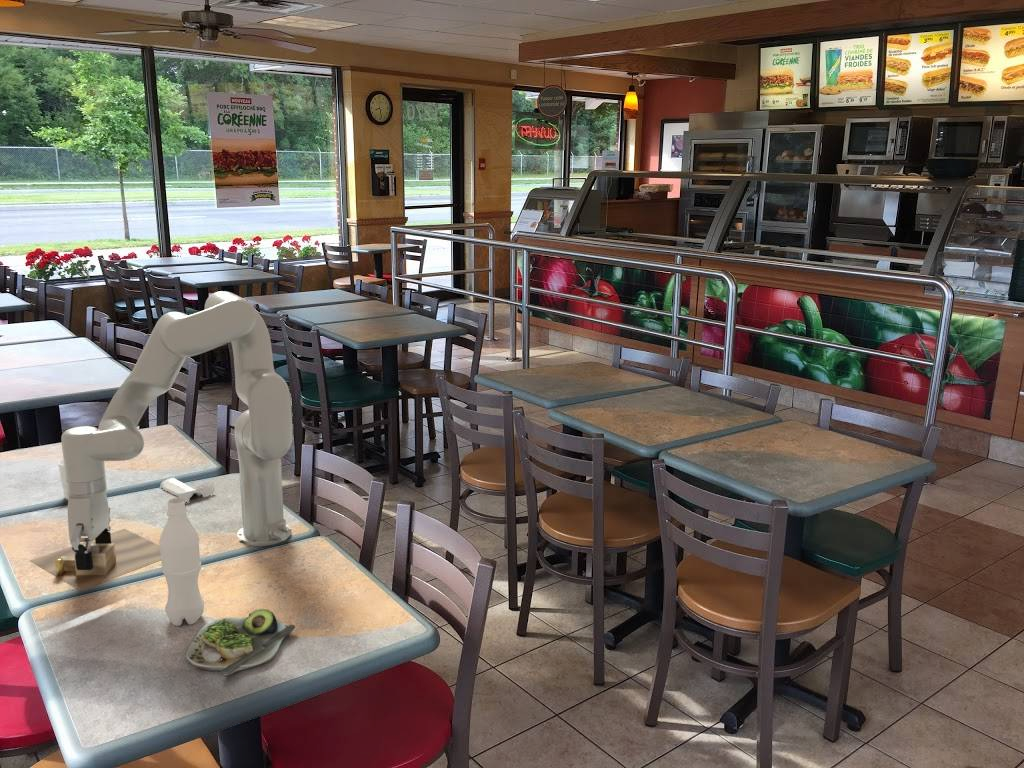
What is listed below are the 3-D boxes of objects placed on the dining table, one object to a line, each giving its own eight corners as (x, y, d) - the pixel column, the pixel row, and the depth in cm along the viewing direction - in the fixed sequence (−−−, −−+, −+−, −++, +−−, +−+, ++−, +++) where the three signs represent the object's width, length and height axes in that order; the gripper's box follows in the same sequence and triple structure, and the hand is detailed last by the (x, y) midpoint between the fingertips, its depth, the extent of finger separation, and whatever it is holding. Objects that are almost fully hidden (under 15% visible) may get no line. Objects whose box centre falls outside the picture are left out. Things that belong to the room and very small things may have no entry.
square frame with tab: (116, 562, 185) (114, 543, 184) (105, 574, 179) (103, 555, 178) (67, 562, 185) (65, 543, 183) (54, 575, 179) (52, 555, 178)
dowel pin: (66, 574, 179) (64, 559, 179) (58, 576, 178) (56, 561, 177) (62, 572, 180) (60, 557, 179) (54, 574, 179) (53, 559, 178)
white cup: (65, 492, 227) (61, 457, 225) (97, 489, 230) (93, 454, 227) (59, 502, 220) (55, 466, 218) (92, 499, 222) (88, 464, 220)
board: (177, 558, 190) (175, 533, 189) (80, 595, 173) (77, 568, 171) (125, 533, 203) (122, 509, 201) (30, 565, 185) (26, 539, 184)
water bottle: (164, 631, 161) (153, 509, 154) (168, 612, 167) (158, 495, 161) (203, 626, 162) (194, 506, 156) (206, 608, 169) (197, 492, 163)
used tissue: (179, 508, 219) (178, 494, 218) (159, 488, 233) (158, 474, 232) (220, 499, 226) (219, 485, 225) (197, 480, 239) (196, 467, 238)
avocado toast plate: (271, 684, 145) (270, 661, 144) (168, 682, 145) (166, 658, 144) (300, 626, 164) (299, 604, 163) (209, 623, 164) (207, 602, 163)
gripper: (86, 470, 185) (93, 542, 190) (49, 500, 169) (58, 578, 173) (120, 470, 186) (127, 541, 190) (87, 500, 169) (95, 577, 173)
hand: (94, 559), depth 182 cm, fingers open, 9 cm apart
